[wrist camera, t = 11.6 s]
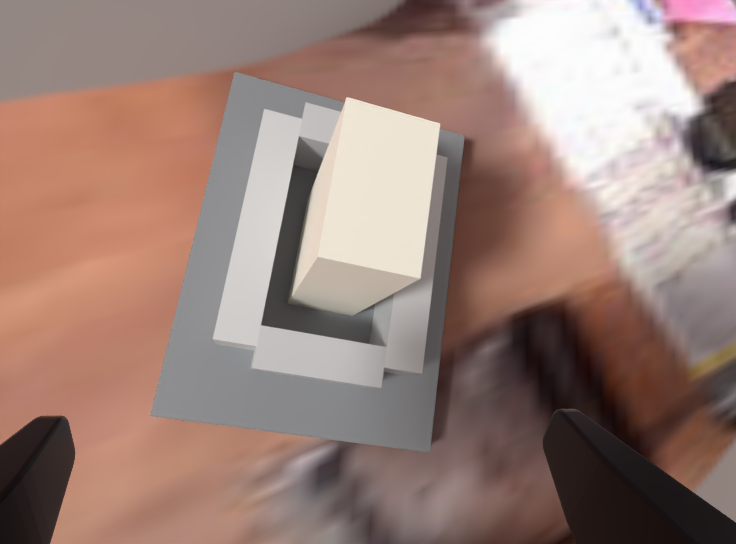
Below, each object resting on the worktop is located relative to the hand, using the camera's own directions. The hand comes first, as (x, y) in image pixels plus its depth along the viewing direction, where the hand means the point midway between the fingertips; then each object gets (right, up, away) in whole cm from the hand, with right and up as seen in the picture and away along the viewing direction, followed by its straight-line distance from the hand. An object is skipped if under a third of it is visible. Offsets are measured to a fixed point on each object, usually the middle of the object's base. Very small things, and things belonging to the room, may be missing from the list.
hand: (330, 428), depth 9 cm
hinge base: (-1, +3, +15) cm, 15 cm away
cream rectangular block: (-1, +4, +14) cm, 14 cm away
